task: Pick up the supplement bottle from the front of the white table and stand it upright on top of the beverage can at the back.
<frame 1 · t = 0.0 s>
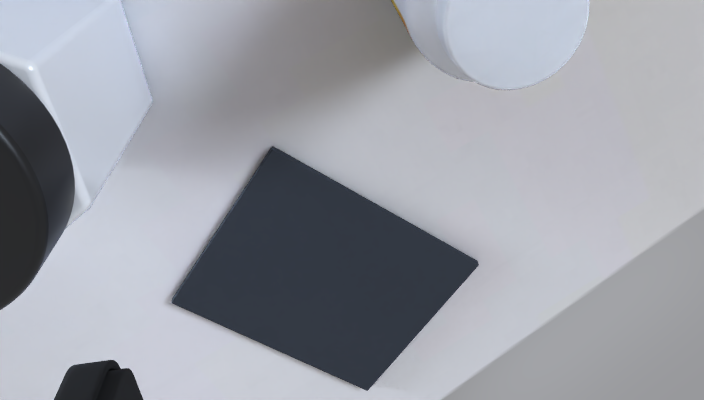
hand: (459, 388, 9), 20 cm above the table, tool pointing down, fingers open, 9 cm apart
jar: (47, 64, 27), on the table
coaster mat: (325, 279, 33), on the table
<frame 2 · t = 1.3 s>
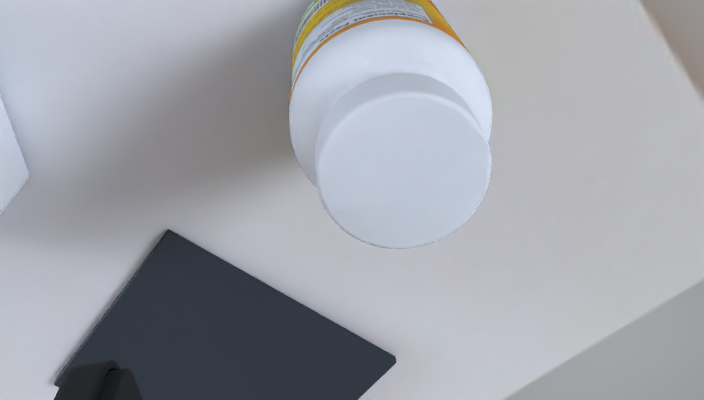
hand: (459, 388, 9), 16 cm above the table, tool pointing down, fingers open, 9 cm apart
supplement bottle: (369, 48, 23), on the table
coaster mat: (227, 367, 30), on the table
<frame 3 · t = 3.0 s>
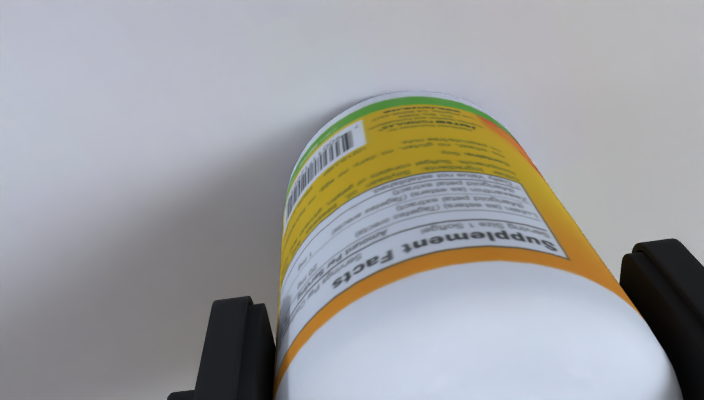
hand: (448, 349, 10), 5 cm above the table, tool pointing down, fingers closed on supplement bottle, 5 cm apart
supplement bottle: (405, 195, 15), on the table, touching gripper
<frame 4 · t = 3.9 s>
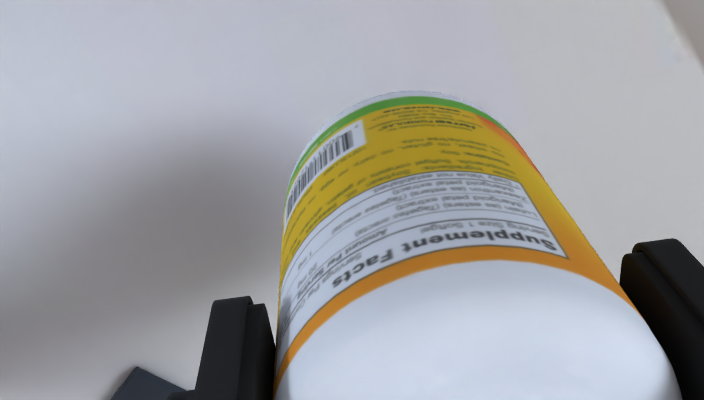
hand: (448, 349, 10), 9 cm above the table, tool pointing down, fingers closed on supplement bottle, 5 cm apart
supplement bottle: (405, 195, 15), point 4 cm above the table, touching gripper
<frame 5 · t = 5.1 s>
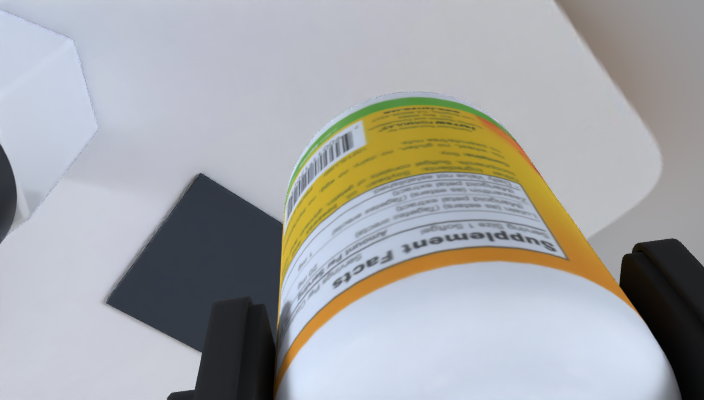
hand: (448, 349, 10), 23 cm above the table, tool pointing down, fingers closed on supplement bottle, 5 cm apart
supplement bottle: (405, 195, 15), point 18 cm above the table, touching gripper
jar: (9, 91, 32), on the table
coaster mat: (243, 290, 38), on the table
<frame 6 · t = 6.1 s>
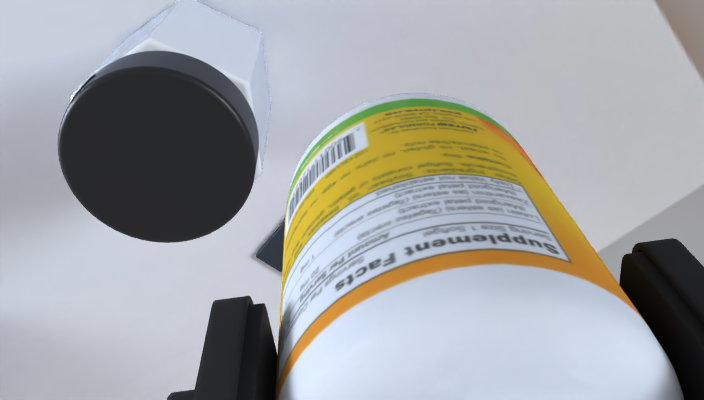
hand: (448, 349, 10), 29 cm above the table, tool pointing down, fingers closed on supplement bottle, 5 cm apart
supplement bottle: (406, 197, 15), point 24 cm above the table, touching gripper
jar: (199, 73, 38), on the table
coaster mat: (371, 248, 44), on the table
when the fingers open (20 cm above the table, at t = 10.6 s): supplement bottle stays where it is, resting on beverage can.
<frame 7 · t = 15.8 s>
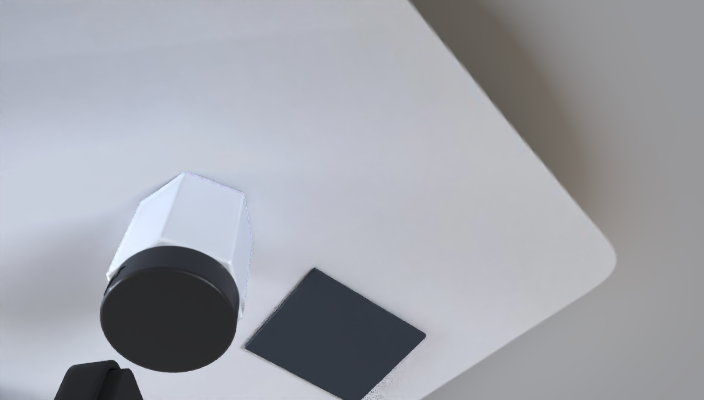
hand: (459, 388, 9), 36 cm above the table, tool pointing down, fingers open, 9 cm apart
jar: (198, 221, 50), on the table
coaster mat: (335, 339, 56), on the table
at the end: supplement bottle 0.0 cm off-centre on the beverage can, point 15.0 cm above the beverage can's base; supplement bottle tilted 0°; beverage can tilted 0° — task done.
